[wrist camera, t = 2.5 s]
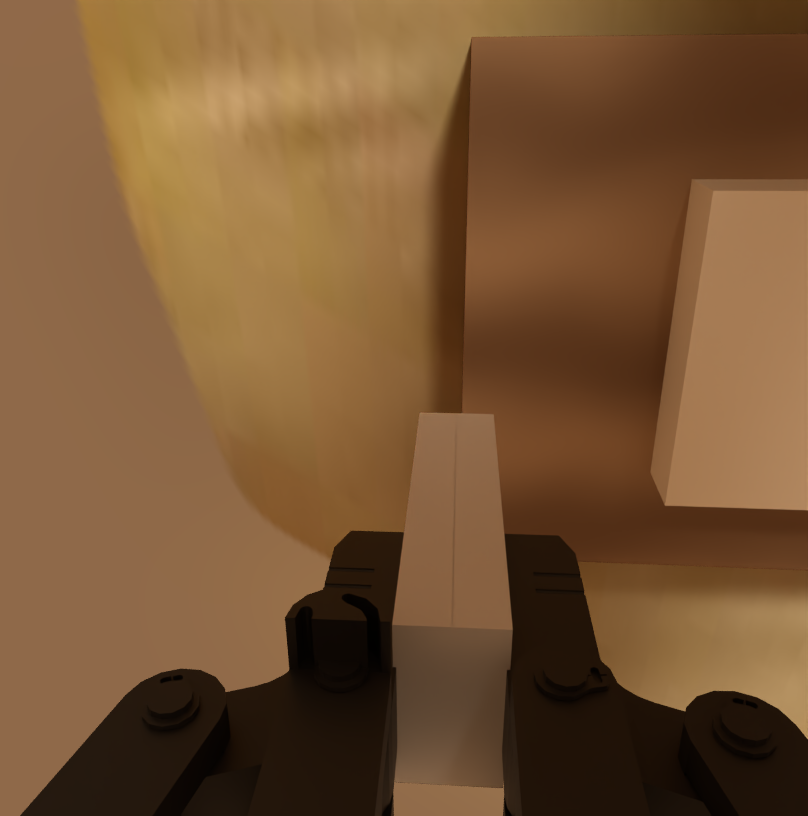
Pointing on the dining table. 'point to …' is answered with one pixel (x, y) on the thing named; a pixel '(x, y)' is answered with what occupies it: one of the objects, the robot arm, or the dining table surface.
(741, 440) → the cream rectangular block
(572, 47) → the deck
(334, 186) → the dining table surface
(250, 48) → the dining table surface
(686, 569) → the dining table surface
